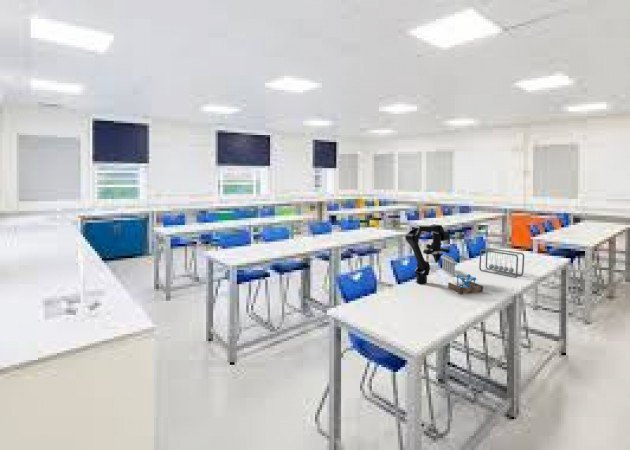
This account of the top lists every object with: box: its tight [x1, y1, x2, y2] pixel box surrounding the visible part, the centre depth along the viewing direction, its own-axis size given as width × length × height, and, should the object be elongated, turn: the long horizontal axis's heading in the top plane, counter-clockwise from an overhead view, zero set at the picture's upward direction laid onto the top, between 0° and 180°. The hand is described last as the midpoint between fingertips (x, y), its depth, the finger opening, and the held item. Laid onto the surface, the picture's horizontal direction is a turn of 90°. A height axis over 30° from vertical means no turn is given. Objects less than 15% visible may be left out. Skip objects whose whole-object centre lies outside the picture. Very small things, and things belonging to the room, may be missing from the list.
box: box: [447, 280, 484, 295], centre depth 250 cm, size 16×14×4 cm
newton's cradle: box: [478, 247, 525, 279], centre depth 292 cm, size 30×10×18 cm, turn 36°
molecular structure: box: [455, 274, 477, 288], centre depth 250 cm, size 10×10×10 cm
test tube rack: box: [439, 253, 459, 278], centre depth 296 cm, size 25×4×13 cm, turn 2°
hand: (436, 262), depth 275 cm, fingers closed
